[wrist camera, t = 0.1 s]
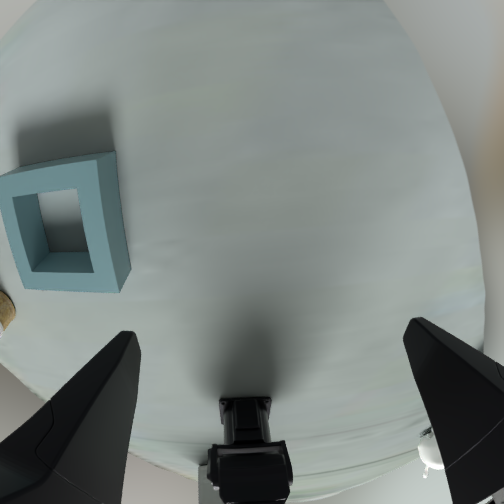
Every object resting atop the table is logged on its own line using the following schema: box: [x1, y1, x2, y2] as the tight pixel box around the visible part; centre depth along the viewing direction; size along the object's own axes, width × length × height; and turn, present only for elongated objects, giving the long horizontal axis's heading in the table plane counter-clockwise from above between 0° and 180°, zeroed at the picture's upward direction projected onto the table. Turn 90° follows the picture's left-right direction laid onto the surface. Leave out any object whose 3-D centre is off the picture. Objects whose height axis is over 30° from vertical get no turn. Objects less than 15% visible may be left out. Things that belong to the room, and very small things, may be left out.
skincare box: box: [198, 465, 222, 504], centre depth 38 cm, size 8×7×16 cm
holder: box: [0, 151, 131, 293], centre depth 19 cm, size 10×10×4 cm
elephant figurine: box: [418, 429, 444, 478], centre depth 46 cm, size 12×18×12 cm
